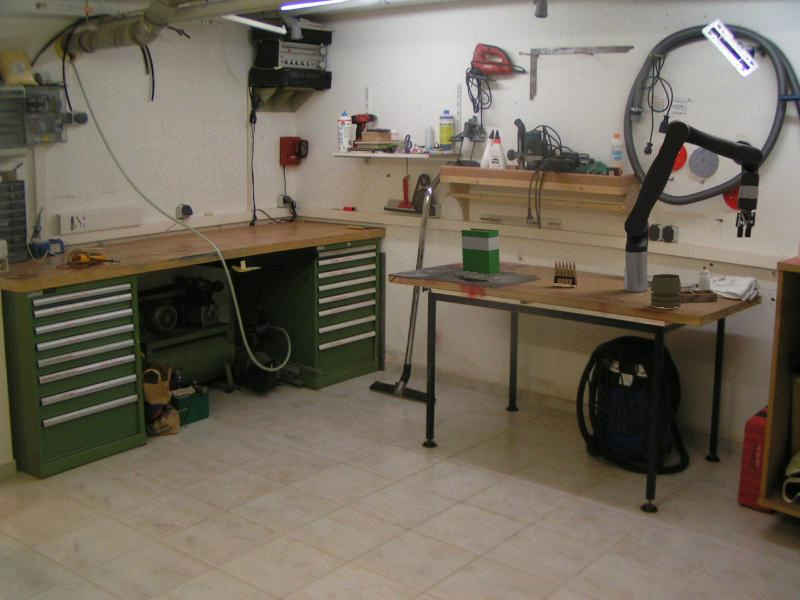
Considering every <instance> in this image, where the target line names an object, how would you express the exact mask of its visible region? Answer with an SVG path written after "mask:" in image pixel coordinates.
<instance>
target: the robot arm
mask: <svg viewBox="0 0 800 600" xmlns="http://www.w3.org/2000/svg"><path fill="white" fill-rule="evenodd" d="M685 143H686V144H690V145H693V146H694V145H695V146H697V147H699V148H702V149H704V150H706V151H708V152H710V153H713V154H715V155H718V156H721V157H725V159H726V158H727V159H729V160H736V161H737V160H738V161H740V162H741V165H740V168H741V174H740V175H741V176H740V184H739V190H738V197H737V203H736V208H737V210H740V212H736V221H735V227H736V228H737V232H736V238H739V239H741V238H743V237H744V238H751V235H752V229H753V228H754V227H755V225H756V224H755V223H756V214H757V213H756V210H757V208H758V199H759V184H760V174H759V168H760V167H759V166H760V163H762V161H763V159H764V153H763V151H762V150H761V149H760V148H758V147H755V146H751V145H747V144H744V143H738V141H737V142H736V141H734V140H732V139H731V140H730V139H728V138H726V137H722V136H719V135H716V134H712V133H710V132H706V131H703V130H700V129H698V128H696V127H694V126H692V125H690V124H689V123H687V122H686V121H684V120H682V119H674V120H672V121H670V122H669V123H668V124H667V126H666V129H665V135H664V139H663V141H662V144H661V148H660V149H659V151H658V153H657V155H656V157H655V158H654V159H653V161H652V163H651V165H650V166H649V168H648V170H647V172H646V174H645V176H644V179H643V182H642V184H641V187H640V190H639V192H638V196H637V198H636V201H635V203H634V205H633V207H632V209H631V211H630V213H629V214H628V216H627V217H626V219H625V221H624V224H623V225H624V231H625V232H626V233H625V234H626V242H625V246H624V247H625V249H624V250H625V252H624V253H625V267H624V271H623V273H624V281H623V282H624V290H625V292H626V293H627V292H628V293H642V292H647V291H648V286H649V285H648V248H649V247H648V246H649V239H650V238H649V236H650V235H649V232H650V226H649V225H650V224H649V219H650V216H651V215H650V214H651V212H652V210H653V208H654V207H655V205H656V204H657V202H658V200H659V199H660V197H661V196H662V194H663V192H664V191H665V188H666V187H667V184H668V183H669V180H670V177H671V175H672V172H673V170H674V166H675V164H676V161H677V157H678V155H679V153H680V152H681V150H682V147H683V146H684V145H685ZM744 228H745V229H744Z"/></svg>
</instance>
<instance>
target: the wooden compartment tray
mask: <svg viewBox="0 0 800 600" xmlns="http://www.w3.org/2000/svg"><path fill="white" fill-rule="evenodd" d="M678 293H680V294H681V298H680V299H681V303H700V302H701V303H703V302H704V303H705V302H707V303H708V302H718V293H717V292H716V291H714V290H712V289H710V290H698V289H693V290H692V289H691V290H681V291H680V292H678Z"/></svg>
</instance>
